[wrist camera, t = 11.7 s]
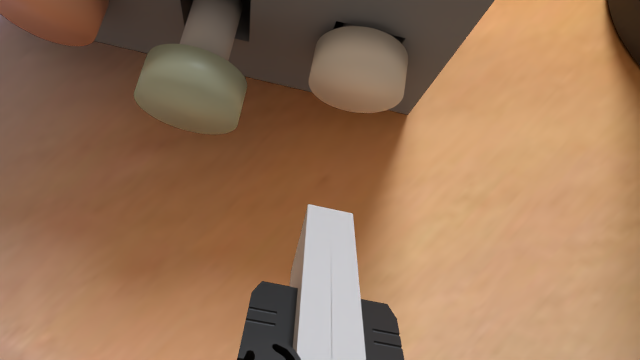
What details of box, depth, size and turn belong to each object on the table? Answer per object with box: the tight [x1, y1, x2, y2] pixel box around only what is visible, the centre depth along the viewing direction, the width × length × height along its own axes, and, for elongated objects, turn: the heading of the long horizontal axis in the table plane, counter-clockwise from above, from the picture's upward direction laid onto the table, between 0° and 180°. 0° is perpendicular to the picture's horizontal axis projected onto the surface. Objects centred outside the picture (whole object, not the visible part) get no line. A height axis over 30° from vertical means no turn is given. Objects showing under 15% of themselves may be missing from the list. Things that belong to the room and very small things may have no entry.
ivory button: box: [309, 23, 408, 113], centre depth 23 cm, size 4×6×4 cm
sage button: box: [134, 0, 247, 135], centre depth 22 cm, size 4×6×4 cm
